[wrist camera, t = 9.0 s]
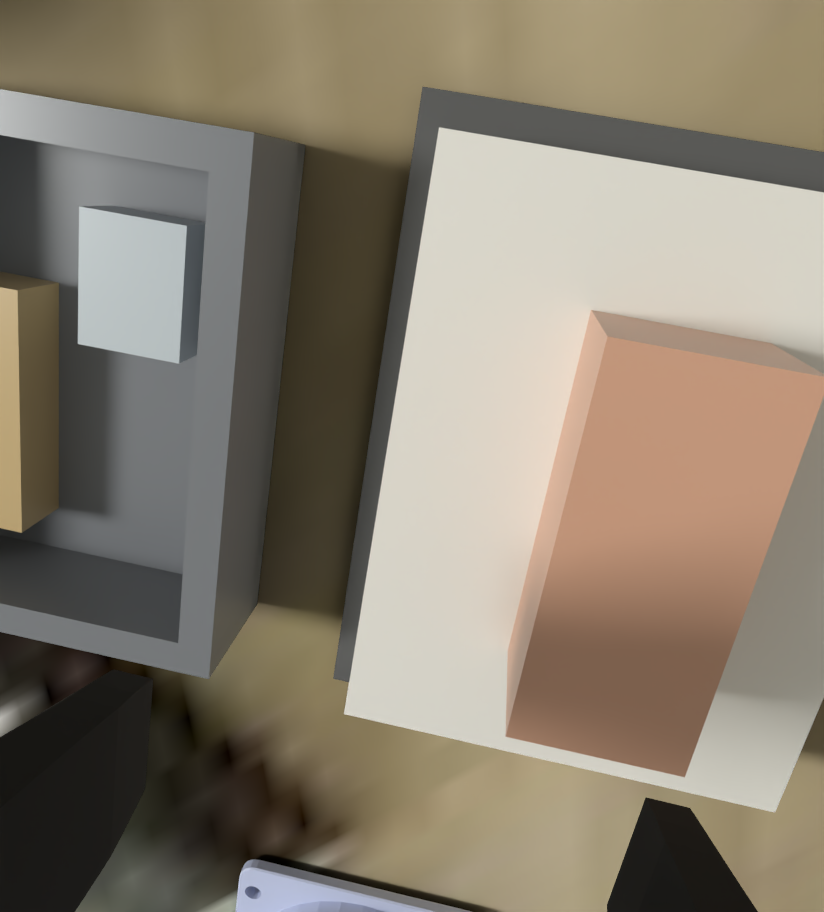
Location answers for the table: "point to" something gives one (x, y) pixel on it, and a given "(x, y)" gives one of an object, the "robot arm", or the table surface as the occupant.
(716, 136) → the mat
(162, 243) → the storage box
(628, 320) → the lid
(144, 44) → the table surface
